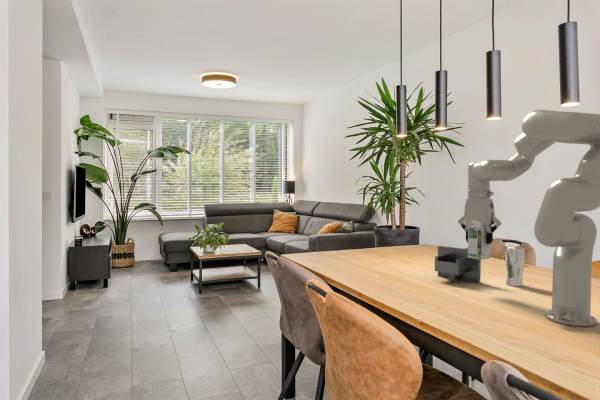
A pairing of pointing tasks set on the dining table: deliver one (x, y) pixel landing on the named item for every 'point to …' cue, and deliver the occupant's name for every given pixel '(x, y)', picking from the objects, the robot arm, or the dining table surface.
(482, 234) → the syrup box
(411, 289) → the dining table surface
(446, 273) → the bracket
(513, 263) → the beer glass
